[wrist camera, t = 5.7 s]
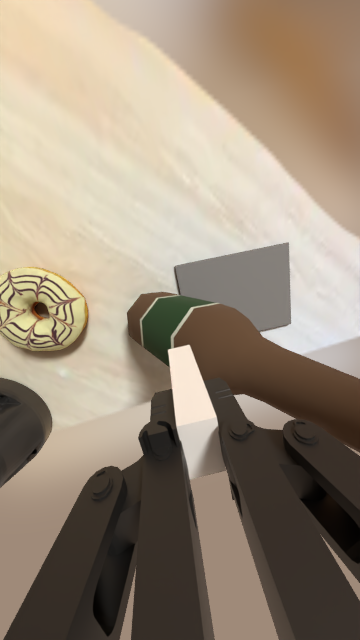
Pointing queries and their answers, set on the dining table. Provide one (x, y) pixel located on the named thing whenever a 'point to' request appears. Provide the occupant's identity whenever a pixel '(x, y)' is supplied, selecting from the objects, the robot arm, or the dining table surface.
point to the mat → (244, 283)
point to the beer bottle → (248, 361)
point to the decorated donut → (22, 320)
